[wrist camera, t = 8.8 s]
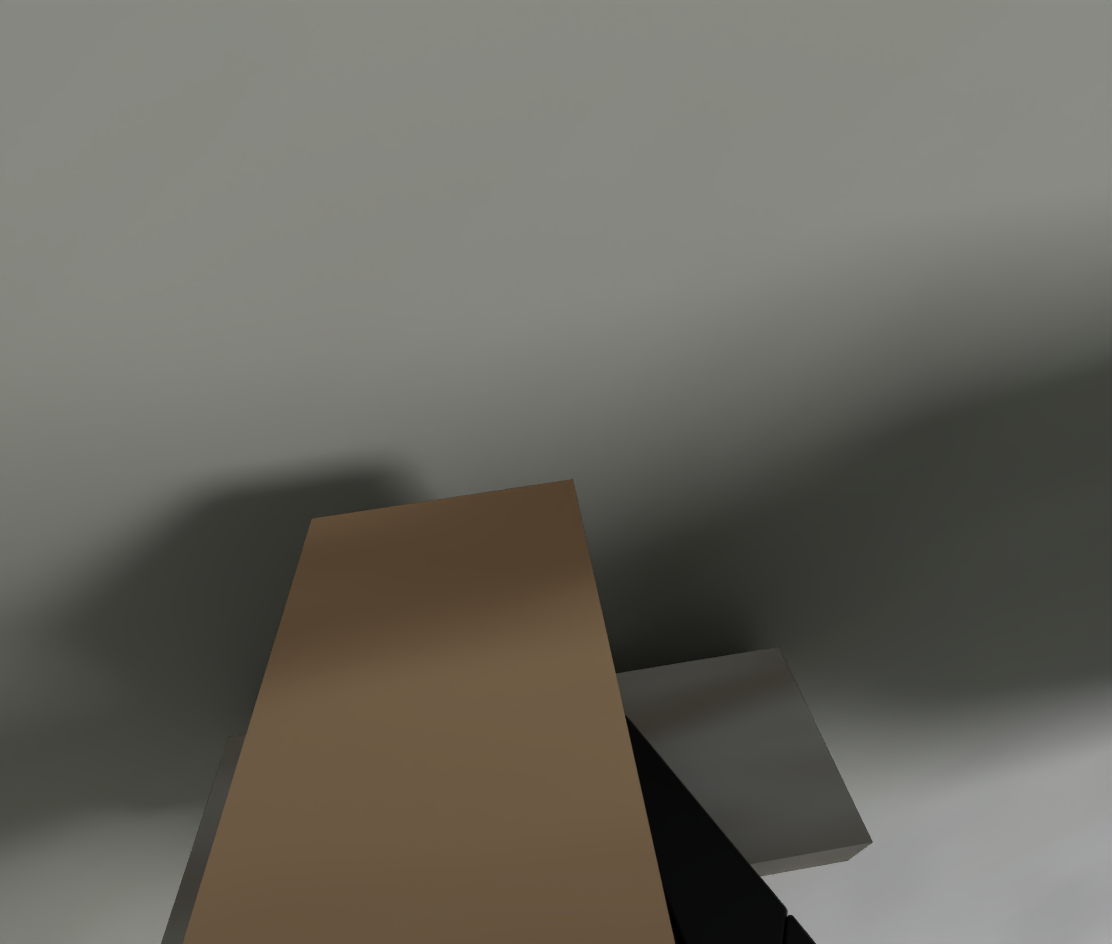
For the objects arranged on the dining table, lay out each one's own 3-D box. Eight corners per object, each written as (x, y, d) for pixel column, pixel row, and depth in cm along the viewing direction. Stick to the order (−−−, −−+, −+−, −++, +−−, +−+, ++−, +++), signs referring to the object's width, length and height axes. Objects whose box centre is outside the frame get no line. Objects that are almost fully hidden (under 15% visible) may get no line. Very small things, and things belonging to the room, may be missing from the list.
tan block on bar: (-6, 566, 6) (-505, 1160, 3) (866, 434, 6) (1241, 839, 3) (260, 760, 10) (173, 1078, 7) (766, 676, 10) (885, 947, 7)
